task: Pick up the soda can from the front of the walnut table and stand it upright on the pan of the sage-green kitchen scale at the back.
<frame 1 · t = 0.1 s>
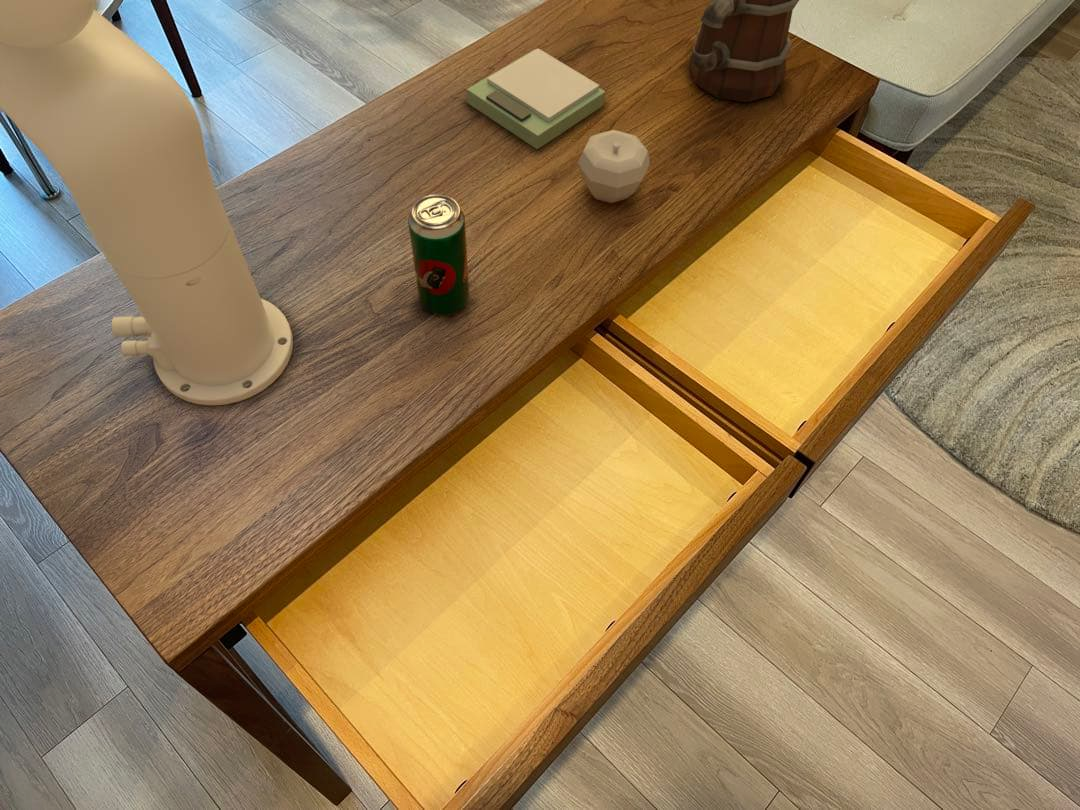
scale: (535, 104, 97), on the table
faceted beige knob: (609, 193, 89), on the table
mug: (724, 82, 101), on the table
soda can: (444, 300, 79), on the table
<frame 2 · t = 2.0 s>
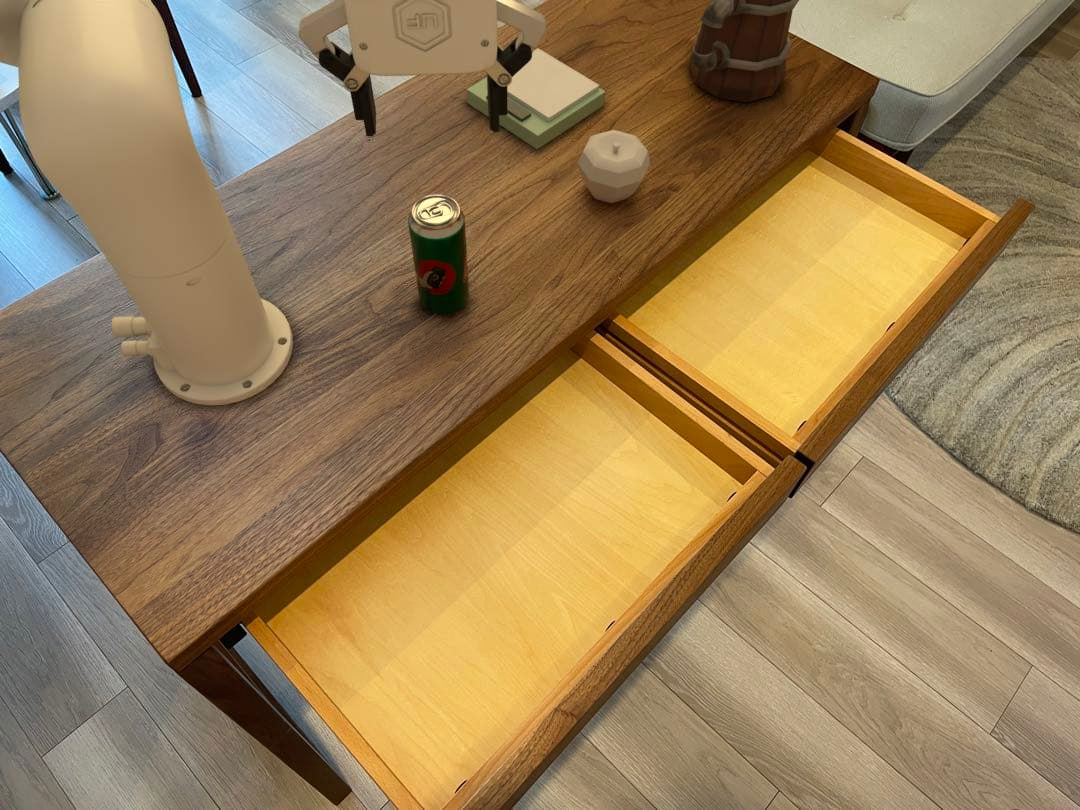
hand: (432, 122, 62), 21 cm above the table, tool pointing down, fingers open, 9 cm apart
nothing on the table moved.
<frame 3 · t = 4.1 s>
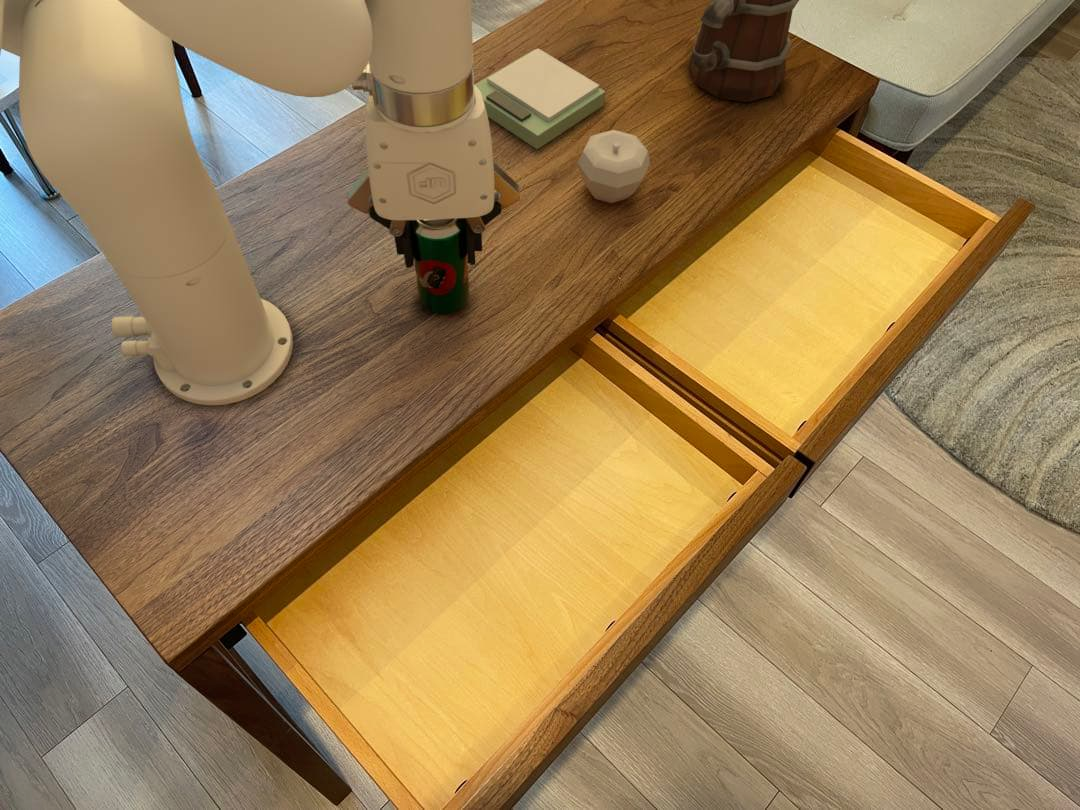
hand: (440, 253, 73), 7 cm above the table, tool pointing down, fingers closed on soda can, 5 cm apart
soda can: (444, 300, 79), on the table, touching gripper
everything else where it was.
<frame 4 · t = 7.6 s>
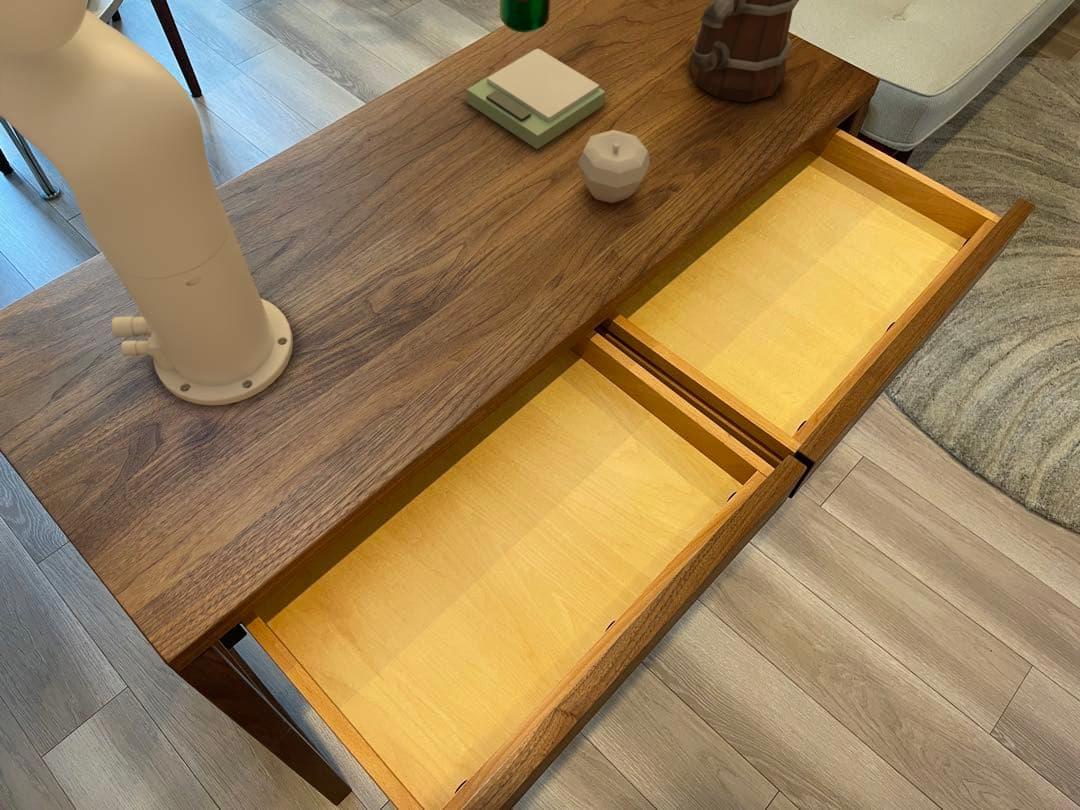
soda can: (524, 23, 80), point 15 cm above the table, touching gripper
everything else where it was.
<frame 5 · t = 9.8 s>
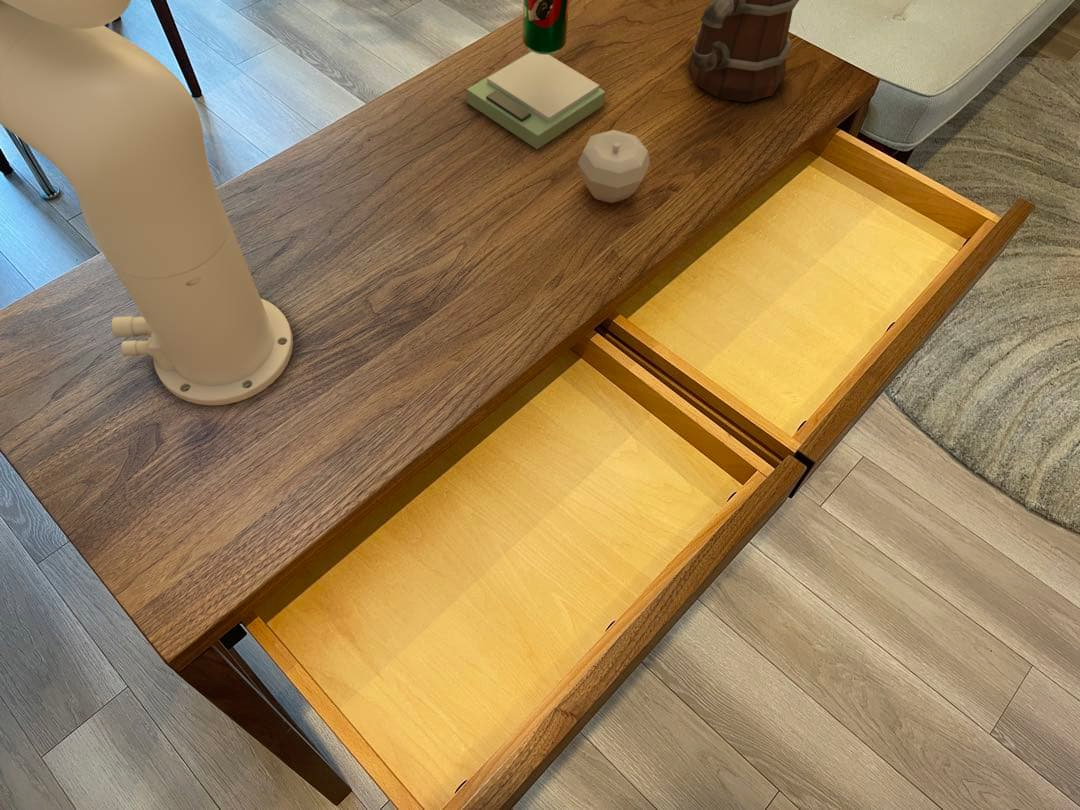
soda can: (543, 45, 91), point 7 cm above the table, touching gripper
everything else where it was.
when the fingers open (9 cm above the table, at t = 11.4 s): soda can stays where it is, resting on scale.
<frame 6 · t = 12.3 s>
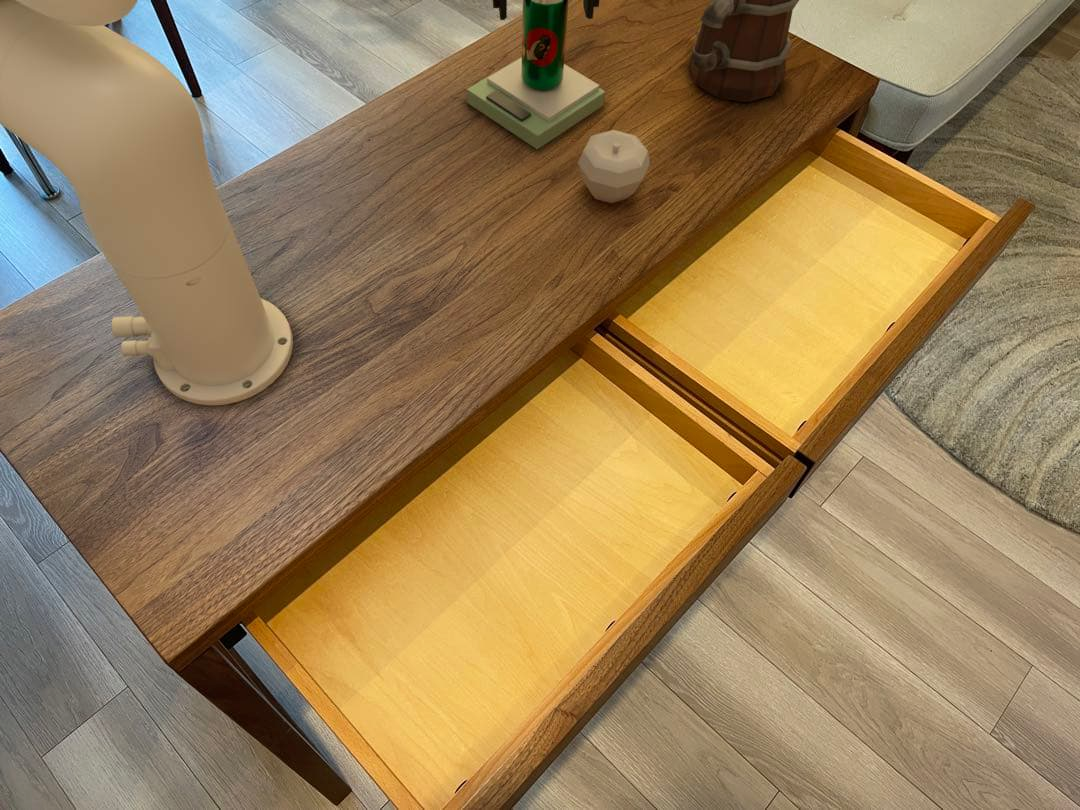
hand: (545, 12, 87), 11 cm above the table, tool pointing down, fingers open, 9 cm apart
soda can: (541, 82, 95), point 2 cm above the table, touching scale
everything else where it was.
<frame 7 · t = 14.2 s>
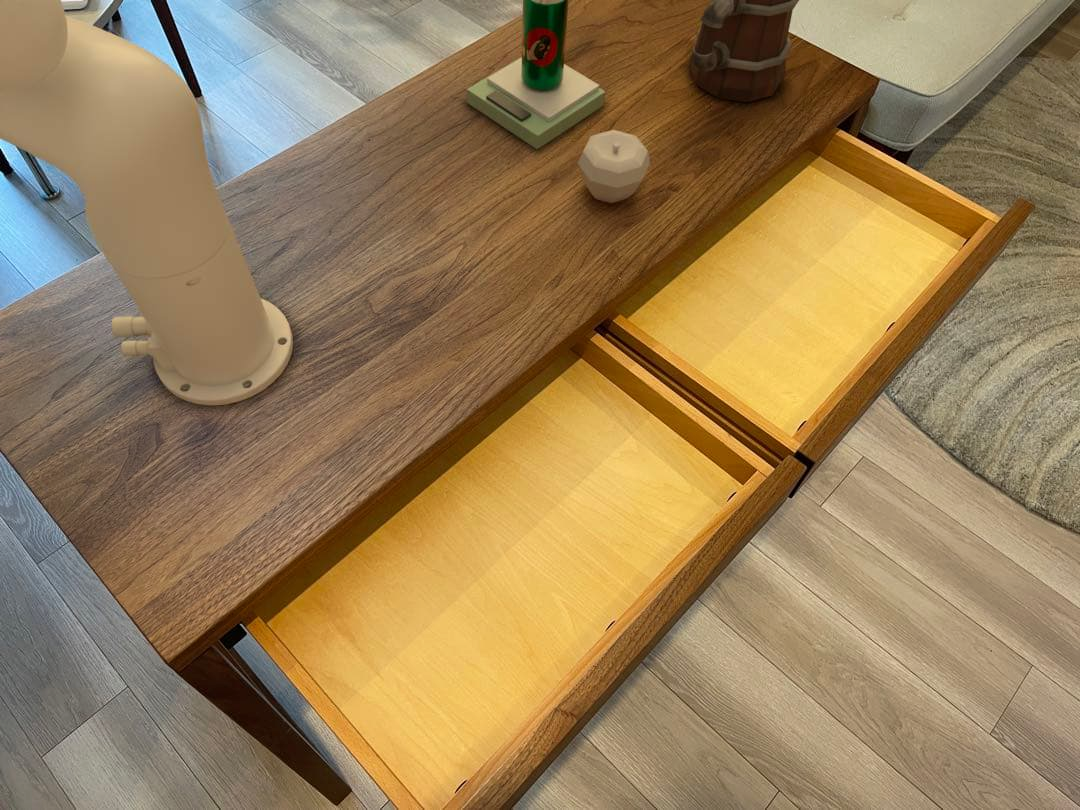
nothing on the table moved.
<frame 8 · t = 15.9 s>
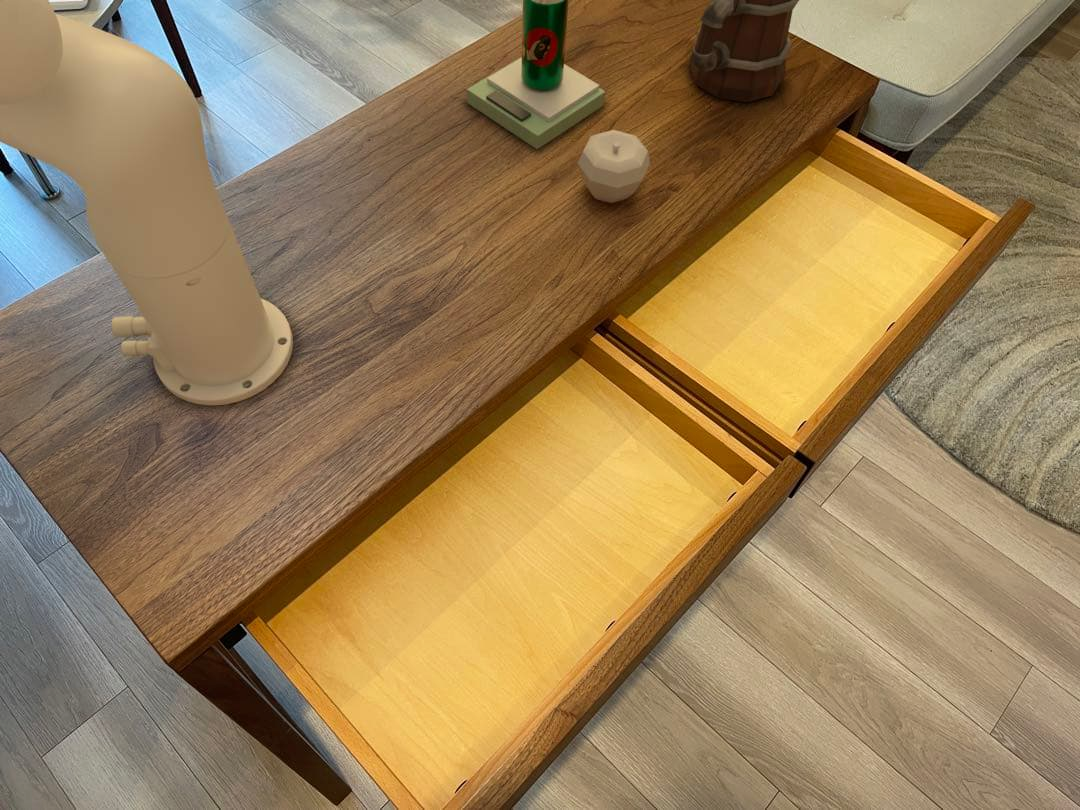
nothing on the table moved.
at the end: soda can inside the target area on the scale (0.2 cm from its centre), point 2.4 cm above the scale's base; soda can tilted 0° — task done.
